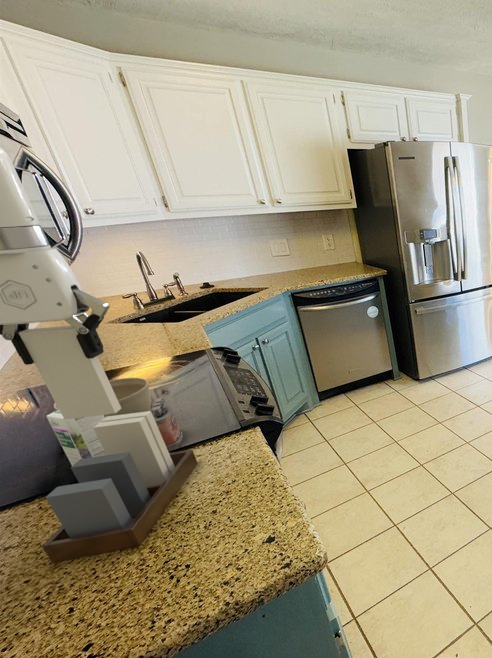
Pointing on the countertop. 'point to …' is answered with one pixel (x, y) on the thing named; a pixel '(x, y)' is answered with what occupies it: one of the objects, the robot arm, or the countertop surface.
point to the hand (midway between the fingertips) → (65, 357)
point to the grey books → (100, 495)
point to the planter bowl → (130, 395)
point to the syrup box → (77, 436)
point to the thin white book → (70, 372)
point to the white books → (137, 444)
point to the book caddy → (135, 534)
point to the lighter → (167, 423)
